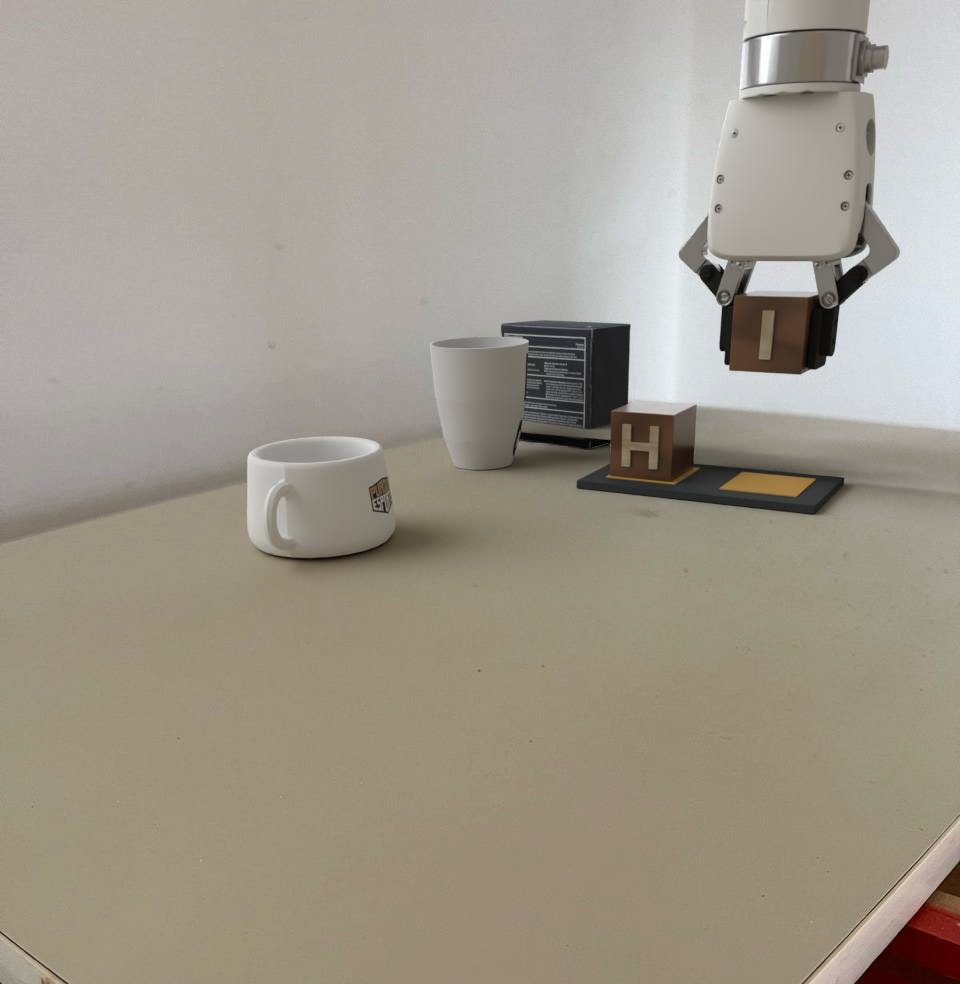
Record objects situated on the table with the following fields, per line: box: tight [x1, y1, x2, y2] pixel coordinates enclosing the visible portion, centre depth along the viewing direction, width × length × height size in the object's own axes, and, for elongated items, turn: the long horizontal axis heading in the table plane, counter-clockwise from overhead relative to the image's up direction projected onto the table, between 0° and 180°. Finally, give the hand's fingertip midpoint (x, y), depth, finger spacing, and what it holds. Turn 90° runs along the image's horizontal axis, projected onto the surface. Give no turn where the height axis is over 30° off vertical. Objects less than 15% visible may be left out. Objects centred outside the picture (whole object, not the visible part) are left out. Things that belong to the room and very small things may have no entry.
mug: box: [246, 435, 396, 559], centre depth 66 cm, size 12×10×6 cm
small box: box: [500, 319, 631, 450], centre depth 94 cm, size 11×6×10 cm, turn 48°
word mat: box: [576, 463, 845, 515], centre depth 78 cm, size 18×9×1 cm, turn 60°
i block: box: [728, 290, 819, 376], centre depth 72 cm, size 5×5×5 cm
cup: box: [429, 336, 529, 471], centre depth 86 cm, size 8×8×10 cm
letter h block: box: [609, 399, 698, 482], centre depth 79 cm, size 5×5×5 cm
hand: (774, 362), depth 73 cm, fingers closed on i block, 5 cm apart
